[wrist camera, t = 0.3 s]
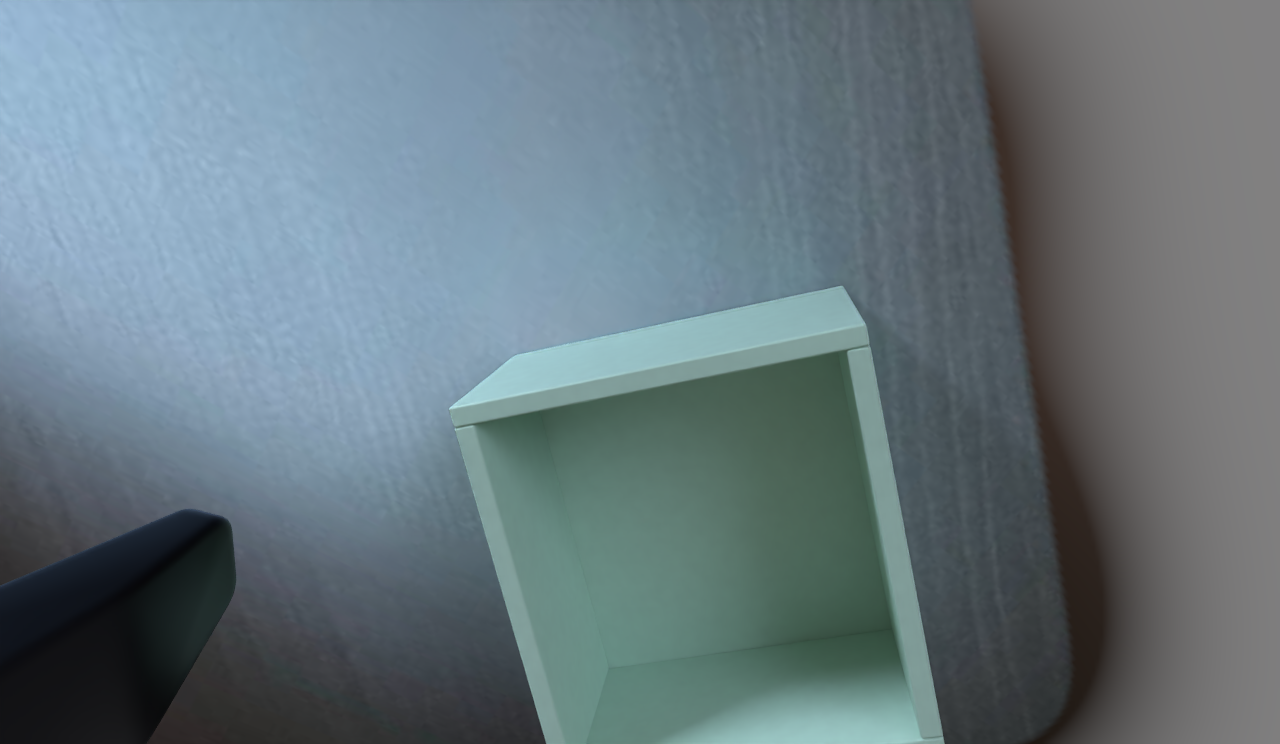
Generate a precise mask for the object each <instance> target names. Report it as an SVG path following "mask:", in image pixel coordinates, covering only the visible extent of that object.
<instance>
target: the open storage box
mask: <svg viewBox="0 0 1280 744" xmlns="http://www.w3.org/2000/svg"><path fill="white" fill-rule="evenodd" d="M869 343H870V342H869V337H868V331H867V326H866V324H865V322H864V320H863V319H862V317H861V315H860V314H859V312H858V310H857V309H856V307H855V305H854V304H853V302H852V300H851V299H850V297H849V295H848V293H847V292H846V290H845V288H844V287H843V286H838V287H833V288H829V289H824V290H819V291H814V292H810V293H805V294H800V295H796V296H791V297H786V298H781V299H777V300H772V301H767V302H763V303H758V304H753V305H748V306H744V307H739V308H734V309H730V310H725V311H720V312H715V313H711V314H706V315H701V316H697V317H692V318H687V319H683V320H678V321H673V322H668V323H664V324H659V325H654V326H650V327H645V328H640V329H635V330H631V331H626V332H621V333H617V334H612V335H607V336H602V337H598V338H593V339H588V340H584V341H579V342H574V343H569V344H565V345H560V346H555V347H551V348H546V349H541V350H536V351H532V352H527V353H522V354H518V355H514V356H513V357H512V358H511V359H509V360H508V361H507V362H506V363H504V364H503V365H502V366H501V367H499V368H498V369H497V370H496V371H494V372H493V373H492V374H491V375H490V376H488V377H487V378H486V379H485V380H483V381H482V382H481V383H480V384H478V385H477V386H476V387H475V388H473V389H472V390H471V391H470V392H469V393H467V394H466V395H465V396H464V397H462V398H461V399H460V400H459V401H457V402H456V403H455V404H454V405H452V406H451V407H450V408H449V411H450V415H451V418H452V422H453V425H454V427H457V428H455V432H456V436H457V439H458V443H459V446H460V449H461V453H462V456H463V460H464V463H465V467H466V470H467V473H468V477H469V480H470V484H471V487H472V490H473V494H474V497H475V501H476V504H477V508H478V511H479V514H480V518H481V521H482V525H483V528H484V532H485V535H486V538H487V542H488V545H489V549H490V552H491V556H492V559H493V562H494V566H495V569H496V573H497V576H498V580H499V583H500V586H501V590H502V593H503V597H504V600H505V603H506V607H507V610H508V614H509V617H510V621H511V624H512V627H513V631H514V634H515V638H516V641H517V645H518V648H519V651H520V655H521V658H522V662H523V665H524V669H525V672H526V675H527V679H528V682H529V686H530V689H531V693H532V696H533V699H534V703H535V706H536V710H537V713H538V716H539V720H540V723H541V727H542V730H543V734H544V737H545V740H546V744H945V743H944V738H943V732H942V727H941V722H940V716H939V711H938V706H937V700H936V695H935V690H934V684H933V679H932V674H931V668H930V663H929V657H928V652H927V647H926V641H925V636H924V631H923V625H922V620H921V615H920V609H919V604H918V599H917V593H916V588H915V583H914V577H913V572H912V567H911V561H910V556H909V551H908V545H907V540H906V535H905V529H904V524H903V518H902V513H901V508H900V502H899V497H898V492H897V486H896V481H895V476H894V470H893V465H892V460H891V454H890V449H889V444H888V438H887V433H886V428H885V422H884V417H883V412H882V406H881V401H880V396H879V390H878V385H877V379H876V374H875V369H874V363H873V358H872V353H871V348H870V346H869Z"/></svg>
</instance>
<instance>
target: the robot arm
mask: <svg viewBox="0 0 1280 744" xmlns="http://www.w3.org/2000/svg"><path fill="white" fill-rule="evenodd" d="M235 585H236V569H235V557H234V546H233V534H232V527H231V524H230V523H229V521H228V520H227V519H226V518H224V517H223V516H219V515H215V514H211V513H207V512H204V511H200V510H196V509H184V510H180V511H177V512H175V513H173V514H170V515H168V516H165V517H163V518H161V519H158V520H156V521H154V522H151V523H149V524H146V525H144V526H142V527H139V528H137V529H134V530H132V531H130V532H127V533H125V534H123V535H120V536H118V537H115V538H113V539H111V540H108V541H106V542H103V543H101V544H99V545H96V546H94V547H92V548H89V549H87V550H84V551H82V552H80V553H77V554H75V555H72V556H70V557H68V558H65V559H63V560H61V561H58V562H56V563H53V564H51V565H49V566H46V567H44V568H41V569H39V570H37V571H34V572H32V573H29V574H27V575H25V576H22V577H20V578H18V579H15V580H13V581H10V582H8V583H6V584H3V585H1V586H0V744H146V743H147V742H148V740H149V739H150V737H151V736H152V734H153V732H154V731H155V729H156V728H157V726H158V724H159V723H160V721H161V719H162V718H163V716H164V714H165V713H166V711H167V709H168V708H169V706H170V704H171V702H172V701H173V699H174V697H175V696H176V694H177V692H178V690H179V689H180V687H181V685H182V684H183V682H184V680H185V678H186V677H187V675H188V673H189V672H190V670H191V668H192V666H193V665H194V663H195V661H196V660H197V658H198V656H199V654H200V653H201V651H202V649H203V648H204V646H205V644H206V642H207V641H208V639H209V637H210V636H211V634H212V632H213V630H214V629H215V627H216V625H217V624H218V622H219V620H220V619H221V617H222V615H223V613H224V612H225V610H226V608H227V607H228V605H229V603H230V601H231V598H232V596H233V593H234V590H235Z"/></svg>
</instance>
